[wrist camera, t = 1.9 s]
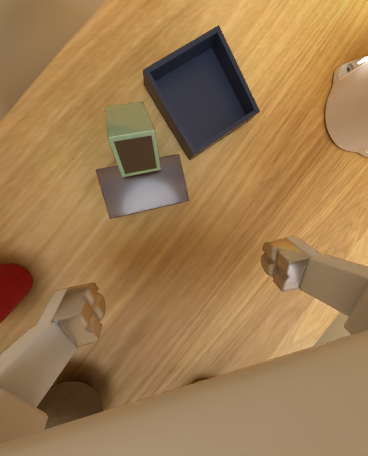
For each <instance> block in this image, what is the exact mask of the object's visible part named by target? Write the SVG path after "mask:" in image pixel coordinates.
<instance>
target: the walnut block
mask: <svg viewBox="0 0 368 456" xmlns="http://www.w3.org/2000/svg"><path fill="white" fill-rule="evenodd" d="M159 160H160V167H161V170H158V171H152V172H147V173H142V174H137V175H132V176H127V177H122V175H121V173H120V170H119V167H118V166H112V167H107V168H101V169H96V173H97V176H98V179H99V183H100V186H101V190H102V193H103V196H104V200H105V203H106V206H107V210H108V213H109V217H110V219H111V218H115V217H120V216H124V215H129V214H133V213H137V212H142V211H146V210H150V209H155V208H159V207H163V206H168V205H172V204H177V203H181V202H185V201H189V198H188V193H187V189H186V184H185V179H184V175H183V170H182V165H181V161H180V156H179V154H177V155H172V156H167V157H161V158H159Z"/></svg>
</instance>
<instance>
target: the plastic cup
mask: <svg viewBox="0 0 368 456" xmlns="http://www.w3.org/2000/svg"><path fill="white" fill-rule="evenodd" d="M32 282H33V279H32V276H31V273H30V272H29V271H28V270H27V269H26V268H24V267H22V266H20V265H17V264H3V265H0V323H1V322H2V321H3V320H4V319H5V318H6V317H7V316H8V315H9V314H10V313H11V312H12V311H13V309H14V308H15V307H16V306H17V305H18V303H19V302H20V301H21V300H22V299H23V298H24V297H25V296H26V295H27V293H28V292H29V290H30V289H31V287H32Z"/></svg>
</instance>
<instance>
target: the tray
mask: <svg viewBox="0 0 368 456" xmlns="http://www.w3.org/2000/svg"><path fill="white" fill-rule="evenodd" d="M143 76H144V86H145V87H146V89H147V91H148V92H149V94H150V96H151V97H152V99H153V101H154V102H155V104H156V106H157V107H158V109H159V111H160V112H161V114H162V115H163V117H164V119H165V120H166V122H167V124H168V125H169V127H170V129H171V130H172V132H173V134H174V135H175V137H176V139H177V140H178V142H179V144H180V145H181V147H182V149H183V150H184V152H185V153H186V155H187V157H188V158H189V160H190V159H192V158H193V157H195V156H196V155H198V154H199V153H201V152H202V151H204V150H205V149H207V148H208V147H210V146H211V145H213V144H214V143H216V142H218V141H219V140H221V139H222V138H224V137H225V136H227V135H228V134H230V133H231V132H233V131H234V130H236V129H237V128H239V127H240V126H242V125H243V124H245V123H246V122H248V121H249V120H250V119H252V118H253V117H254V116H255V115H256V114H257V113H259V112H260V111H259V108H258V106H257V104H256V102H255V100H254V98H253V96H252V94H251V92H250V90H249V88H248V85H247V83H246V81H245V79H244V77H243V75H242V73H241V71H240V69H239V67H238V65H237V63H236V60H235V58H234V56H233V54H232V52H231V50H230V48H229V46H228V44H227V42H226V40H225V38H224V35H223V33H222V31H221V29H220V27H219V25H218V26H217V27H215V28H213V29H212V30H210V31H208V32H207V33H205V34H203V35H202V36H200V37H198V38H196V39H195V40H193V41H191V42H190V43H188V44H186V45H185V46H183V47H181V48H180V49H178V50H176V51H174V52H173V53H171V54H169V55H168V56H166V57H164V58H163V59H161V60H159V61H157V62H156V63H154V64H152V65H151V66H149V67H147V68H146V69H144V70H143Z"/></svg>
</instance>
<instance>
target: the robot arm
mask: <svg viewBox="0 0 368 456" xmlns="http://www.w3.org/2000/svg"><path fill="white" fill-rule="evenodd" d="M325 120H326V126H327V130H328V133H329V135H330V137H331V139H332V140H333V141H334V143H335V144H336V145H337V146H338V147H340V148H341V149H343V150H346V151H351V152H358V153H359V154H361V155H362V156H364V157H368V55H367V56H364V57H362V58H359V59H356V60H353V61H350V62H348V63H345V64H343V65H341V66H339V67H338V68H336V70H335V72H334V78H333V87H332V90H331V92H330V94H329V97H328V100H327V104H326V110H325ZM262 250H263V251H264V252H265V253H264V254H263V255H262V256H261V264H262V267H263V269H264V271H265V272H266V273H267V275H270V276H272V277H273V282H274V283H275V284H276V285H277V286H278V287H279V289H280V290H281V291H282V292H285V291H289V290H294V289H298V288H300V290H302V291H304V292H306V293H307V294H309V295H311V296H313V297H315V298H316V299H318V300H320V301H322V302H324V303H326V304H327V305H329V306H331V307H333V308H335V309H336V310H338V311H340V312H342V313H344V314H345V315H347V316H349V317H348V319H347V321H346V322H345V324H344V327H345V329H346V330H347V331H348V332H349V333H350V334H351V335H349V336H346V337H342V338H339V339H336V340H333V341H330V342H326V343H323V344H320V345H317V346H313V347H310V348H307V349H304V350H300V351H297V352H294V353H291V354H287V355H284V356H281V357H278V358H274V359H271V360H268V361H265V362H261V363H258V364H255V365H252V366H248V367H245V368H242V369H239V370H236V371H232V372H229V373H226V374H223V375H219V376H216V377H213V378H210V379H206V380H203V381H200V382H197V383H193V384H190V385H187V386H184V387H180V388H177V389H174V390H171V391H167V392H164V393H161V394H158V395H154V396H151V397H148V398H145V399H142V400H138V401H135V402H132V403H129V404H125V405H122V406H119V407H116V408H112V409H109V410H106V411H103V412H99V413H96V414H93V415H90V416H87V417H83V418H80V419H77V420H74V421H70V422H67V423H64V424H61V425H57V426H54V427H51V428H48V429H45V426H46V423H47V420H48V416H47V414H46V413H45V412H43V411H41V410H39V409H38V408H36V407H37V406H38V405H39V403H40V402H41V400H42V399H43V397H44V396H45V395H46V393H47V392H48V390H49V389H50V387H51V386H52V385H53V383H54V382H55V380H56V379H57V377H58V376H59V375H60V373H61V372H62V370H63V369H64V367H65V366H66V365H67V363H68V362H69V360H70V359H71V357H72V356H73V355H74V353H75V352H76V350H77V349H78V348H77V347H80V346H84V345H87V344H90V343H94V342H97V341H99V338H100V333H101V329H102V324H101V322H100V320H101V319H102V318H103V317H104V315H105V310H106V309H105V300H104V297H103V295H102V294H100V293H98V287H97V285H96V283H88V284H84V285H79V286H74V287H70V288H65V289H61V290H57V291H56V292H54V294H53V296H52V298H51V299H50V301H49V303H48V305H47V306H46V308H45V310H44V312H43V314H42V315H41V317H40V319H39V321H38V323H37V324H36V326H35V327H32V328H30V329H29V330H28V331H27V332H26V333H24V334H23V335H22V336H21V337H20V338H19V339H18V340H16V341H15V342H14V343H13V344H12V345H11V346H10V347H8V348H7V349H6V350H5V351H4V352H3V353H2V354H1V355H0V456H368V267H367V266H363V265H360V264H357V263H353V262H350V261H347V260H343V259H340V258H336V257H333V256H330V255H322V254H321V253H319V252H318V251H316V250H315V249H313V248H312V247H311V246H309V245H308V244H306V243H305V242H303V241H302V240H301V239H299V238H298V237H296V236H291V237H287V238H283V239H279V240H275V241H271V242H266V243H264V245H263V249H262Z"/></svg>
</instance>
